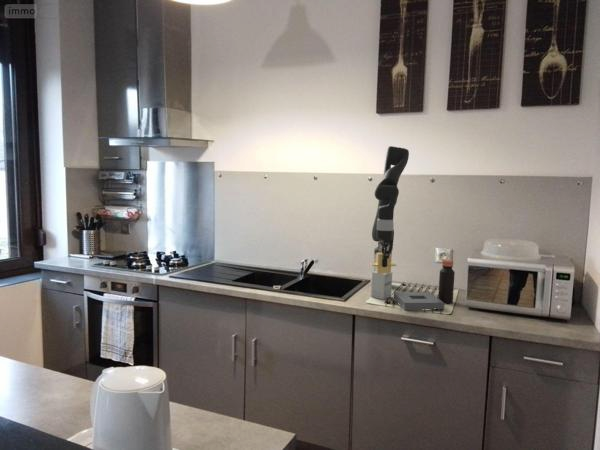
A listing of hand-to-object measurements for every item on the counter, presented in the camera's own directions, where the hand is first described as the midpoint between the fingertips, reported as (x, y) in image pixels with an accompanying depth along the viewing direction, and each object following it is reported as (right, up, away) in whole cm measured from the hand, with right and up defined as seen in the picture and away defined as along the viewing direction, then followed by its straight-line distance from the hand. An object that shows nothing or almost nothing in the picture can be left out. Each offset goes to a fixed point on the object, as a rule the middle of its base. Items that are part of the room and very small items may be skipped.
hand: (383, 265), depth 216 cm
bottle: (+31, -18, +9) cm, 37 cm away
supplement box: (+2, -17, +15) cm, 23 cm away
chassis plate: (+17, -19, +4) cm, 25 cm away
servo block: (0, -3, 0) cm, 3 cm away
